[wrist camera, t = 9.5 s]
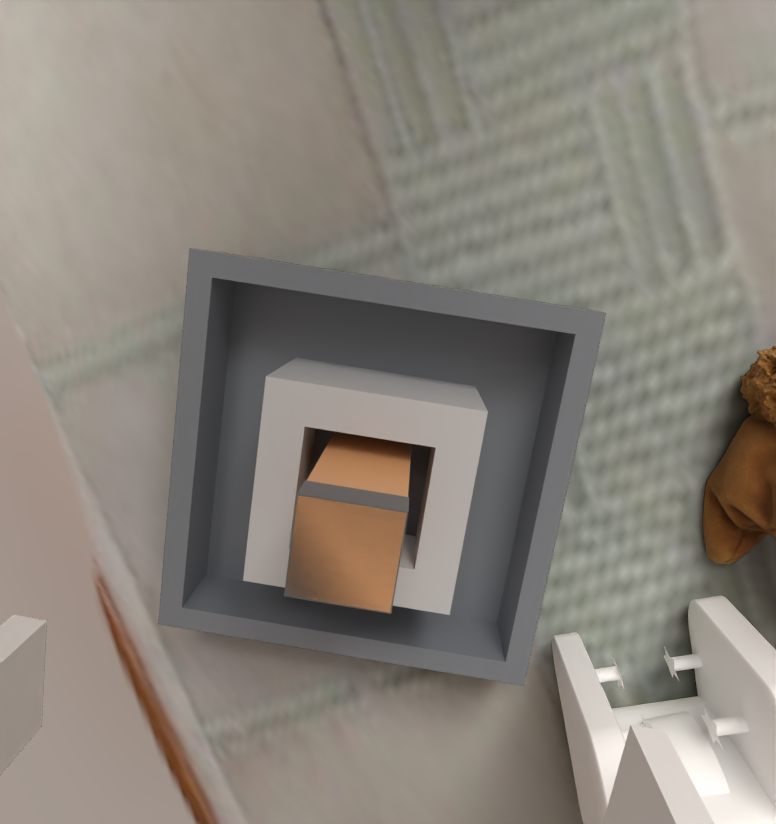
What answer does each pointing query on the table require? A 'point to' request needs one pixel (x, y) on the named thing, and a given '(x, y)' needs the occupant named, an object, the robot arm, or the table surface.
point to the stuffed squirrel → (745, 473)
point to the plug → (351, 524)
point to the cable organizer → (683, 717)
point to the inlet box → (379, 418)
